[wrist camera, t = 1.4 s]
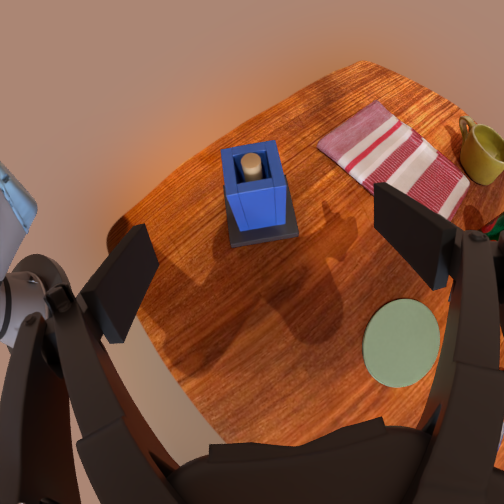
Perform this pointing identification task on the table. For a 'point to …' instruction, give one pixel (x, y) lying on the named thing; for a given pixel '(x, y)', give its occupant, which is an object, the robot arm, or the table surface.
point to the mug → (481, 151)
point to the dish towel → (395, 159)
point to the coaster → (401, 343)
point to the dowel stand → (265, 234)
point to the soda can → (493, 228)
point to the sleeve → (255, 187)
